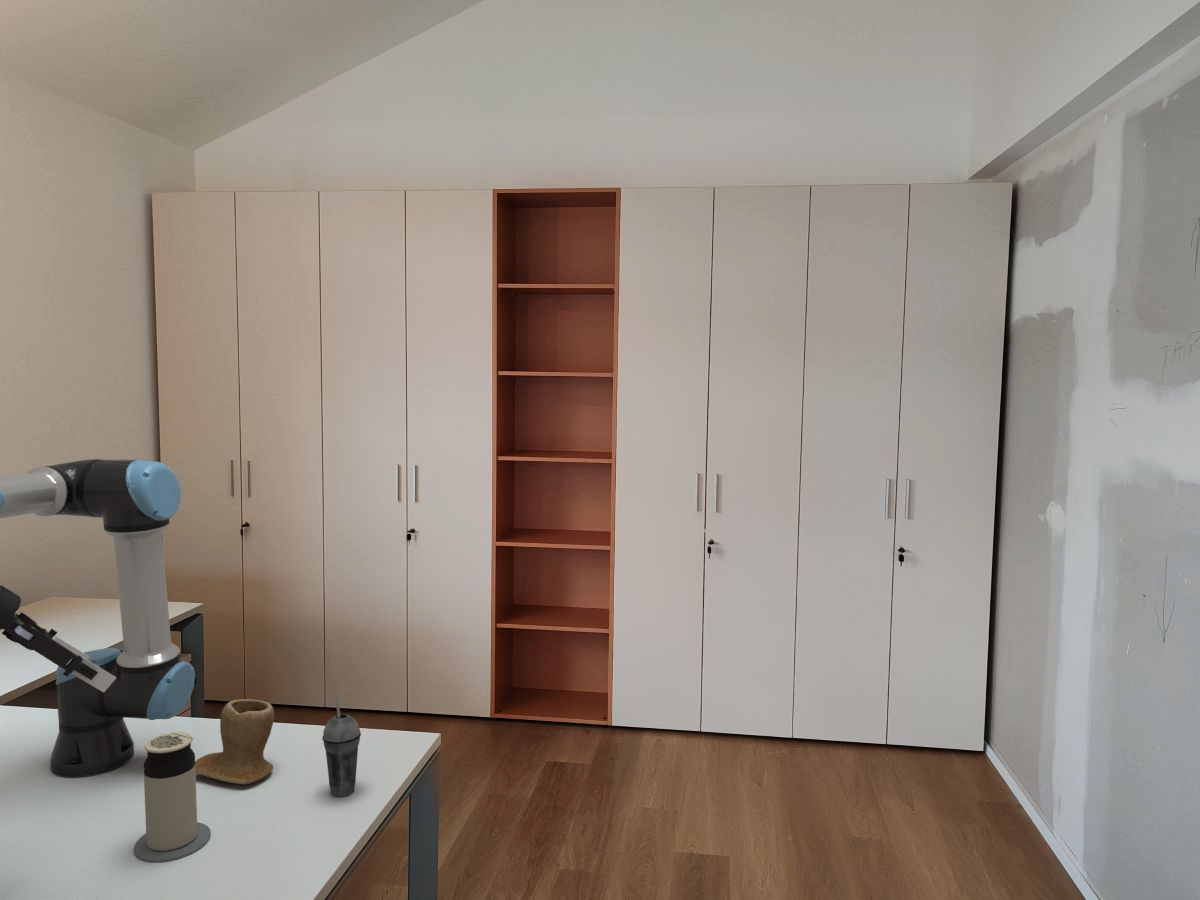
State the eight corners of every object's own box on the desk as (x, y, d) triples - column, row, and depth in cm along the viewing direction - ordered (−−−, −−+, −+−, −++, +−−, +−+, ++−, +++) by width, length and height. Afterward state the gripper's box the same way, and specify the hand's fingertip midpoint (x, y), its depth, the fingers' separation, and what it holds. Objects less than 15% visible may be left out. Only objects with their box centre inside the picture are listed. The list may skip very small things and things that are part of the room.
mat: (123, 842, 146) (123, 840, 146) (194, 816, 155) (194, 814, 155) (148, 871, 138) (148, 868, 138) (222, 842, 147) (221, 839, 147)
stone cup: (288, 768, 175) (286, 698, 173) (244, 794, 164) (242, 720, 162) (233, 754, 180) (231, 687, 179) (187, 779, 169) (185, 707, 168)
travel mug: (163, 857, 141) (159, 755, 140) (137, 843, 145) (133, 743, 144) (207, 836, 148) (203, 738, 146) (181, 822, 152) (177, 727, 150)
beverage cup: (369, 787, 167) (368, 690, 165) (344, 804, 160) (342, 703, 159) (341, 779, 170) (339, 684, 168) (315, 795, 163) (313, 697, 162)
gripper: (-58, 607, 133) (56, 673, 146) (-22, 645, 116) (103, 715, 129) (-20, 569, 137) (89, 636, 149) (20, 600, 120) (139, 673, 132)
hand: (96, 673), depth 139 cm, fingers open, 13 cm apart
